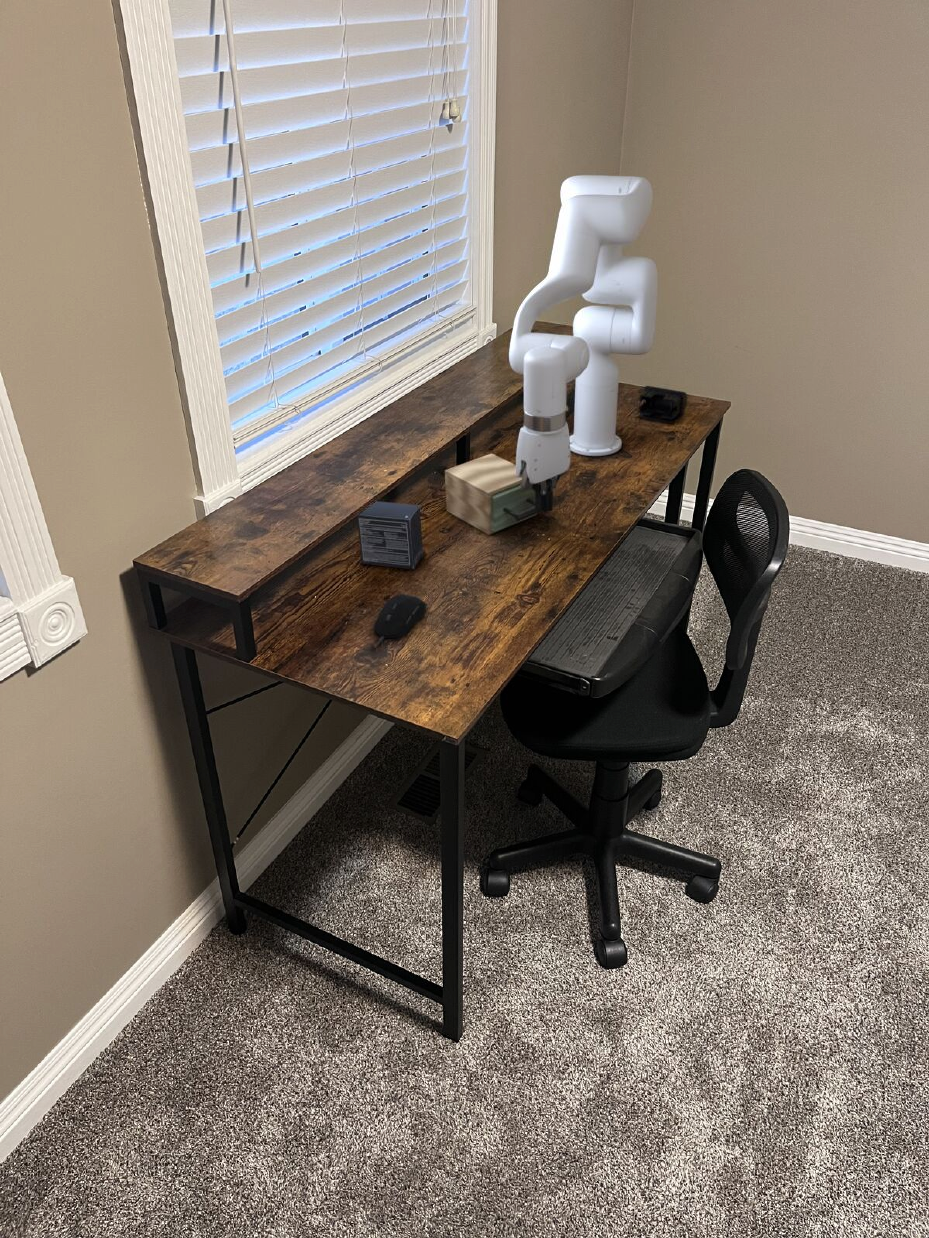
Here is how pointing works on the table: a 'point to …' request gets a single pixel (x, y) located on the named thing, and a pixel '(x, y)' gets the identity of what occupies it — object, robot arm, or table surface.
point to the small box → (390, 535)
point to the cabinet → (478, 488)
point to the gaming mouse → (398, 616)
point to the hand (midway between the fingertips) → (543, 509)
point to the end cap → (662, 404)
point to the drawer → (512, 507)
